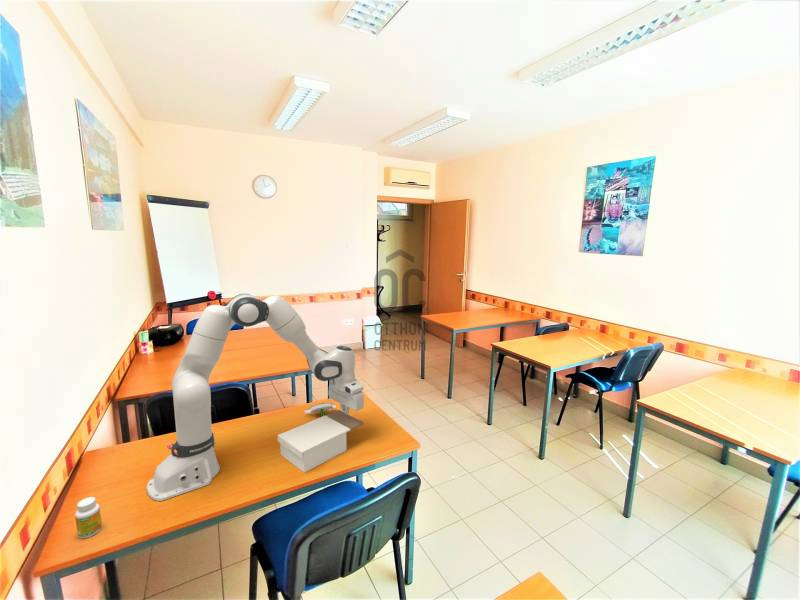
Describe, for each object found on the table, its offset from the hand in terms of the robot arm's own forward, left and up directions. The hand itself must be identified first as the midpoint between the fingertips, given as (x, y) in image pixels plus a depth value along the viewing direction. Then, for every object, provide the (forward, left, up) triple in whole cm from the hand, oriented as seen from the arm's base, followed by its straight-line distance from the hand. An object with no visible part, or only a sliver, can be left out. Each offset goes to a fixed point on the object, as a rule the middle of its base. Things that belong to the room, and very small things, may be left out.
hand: (345, 413), depth 155 cm
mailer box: (-17, 0, -11) cm, 20 cm away
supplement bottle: (-85, +14, -11) cm, 86 cm away
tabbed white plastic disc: (+4, +25, -11) cm, 27 cm away
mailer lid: (-12, 0, -5) cm, 13 cm away
